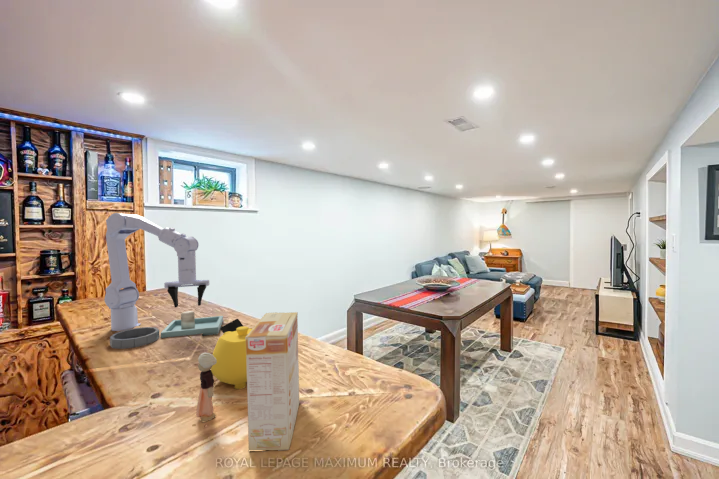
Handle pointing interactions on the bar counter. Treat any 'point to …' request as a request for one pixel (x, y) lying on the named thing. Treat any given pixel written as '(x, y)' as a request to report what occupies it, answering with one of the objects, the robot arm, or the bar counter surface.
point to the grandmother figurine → (206, 387)
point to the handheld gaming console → (231, 326)
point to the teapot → (231, 357)
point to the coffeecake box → (272, 381)
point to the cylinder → (187, 320)
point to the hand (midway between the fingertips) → (188, 305)
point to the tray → (201, 327)
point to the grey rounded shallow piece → (134, 337)
